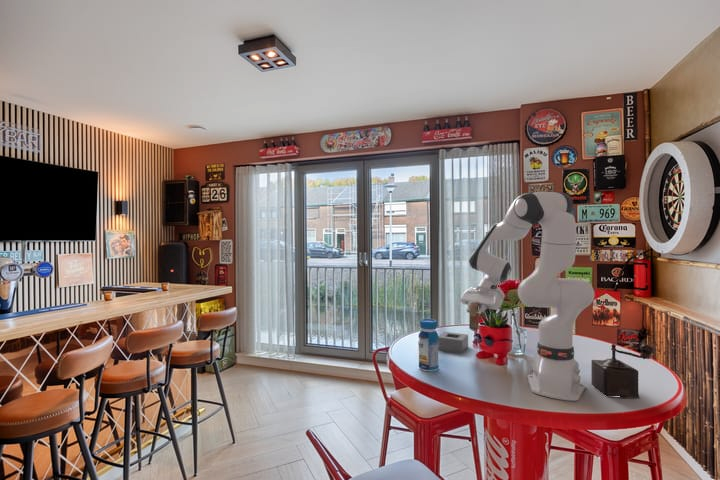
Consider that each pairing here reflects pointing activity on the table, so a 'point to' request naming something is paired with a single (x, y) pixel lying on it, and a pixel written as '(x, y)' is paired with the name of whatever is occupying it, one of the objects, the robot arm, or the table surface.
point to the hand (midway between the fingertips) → (473, 312)
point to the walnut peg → (473, 315)
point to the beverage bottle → (428, 345)
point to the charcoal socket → (453, 342)
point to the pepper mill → (618, 374)
